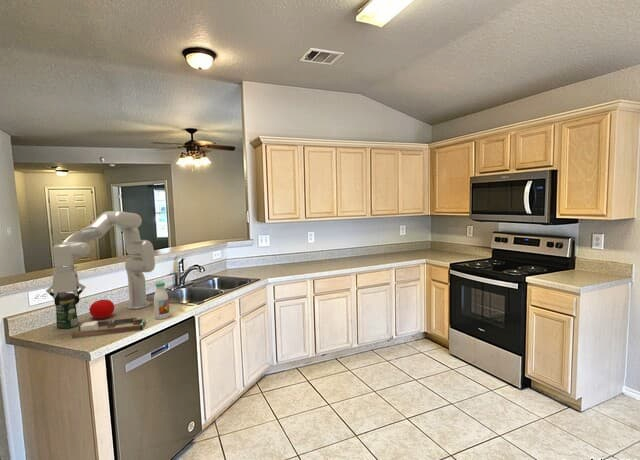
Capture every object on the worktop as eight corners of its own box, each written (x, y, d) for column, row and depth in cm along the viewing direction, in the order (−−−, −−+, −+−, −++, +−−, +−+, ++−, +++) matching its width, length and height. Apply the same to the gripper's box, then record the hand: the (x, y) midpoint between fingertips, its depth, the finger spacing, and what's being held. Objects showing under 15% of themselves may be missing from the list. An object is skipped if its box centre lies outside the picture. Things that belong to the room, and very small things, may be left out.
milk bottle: (153, 320, 194) (151, 285, 192) (156, 316, 201) (153, 281, 200) (168, 318, 196) (166, 283, 194) (170, 314, 203) (168, 280, 202)
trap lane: (82, 328, 184) (81, 323, 184) (146, 320, 193) (146, 316, 193) (71, 338, 170) (71, 333, 170) (142, 329, 179) (141, 325, 179)
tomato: (103, 321, 194) (102, 302, 193) (85, 320, 197) (83, 302, 196) (119, 314, 205) (117, 297, 204) (101, 313, 208) (100, 296, 207)
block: (85, 332, 178) (84, 322, 178) (98, 330, 180) (97, 321, 180) (81, 336, 173) (80, 326, 172) (94, 334, 175) (94, 324, 174)
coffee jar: (53, 328, 185) (50, 293, 183) (69, 323, 192) (66, 290, 191) (66, 330, 182) (63, 295, 180) (81, 324, 189) (78, 291, 187)
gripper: (87, 266, 178) (90, 300, 179) (46, 269, 172) (49, 304, 174) (82, 269, 171) (85, 304, 172) (39, 272, 165) (43, 308, 167)
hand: (67, 304), depth 173 cm, fingers open, 7 cm apart
